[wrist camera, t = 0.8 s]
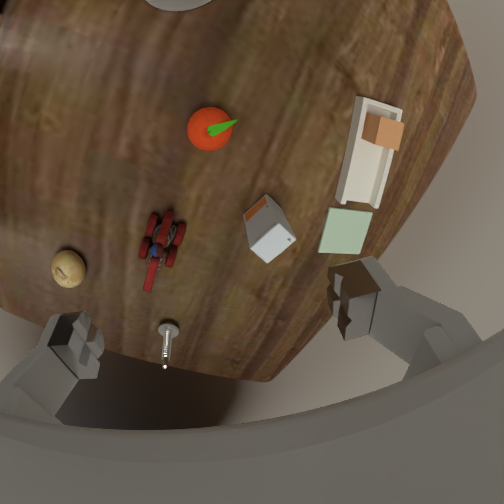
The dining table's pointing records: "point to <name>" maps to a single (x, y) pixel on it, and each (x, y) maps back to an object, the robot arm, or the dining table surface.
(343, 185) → the chute
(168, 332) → the screw
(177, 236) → the toy fire truck
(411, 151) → the dining table surface
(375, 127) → the block
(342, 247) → the pad
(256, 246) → the skincare box
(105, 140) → the dining table surface
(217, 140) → the clementine
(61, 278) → the onion
